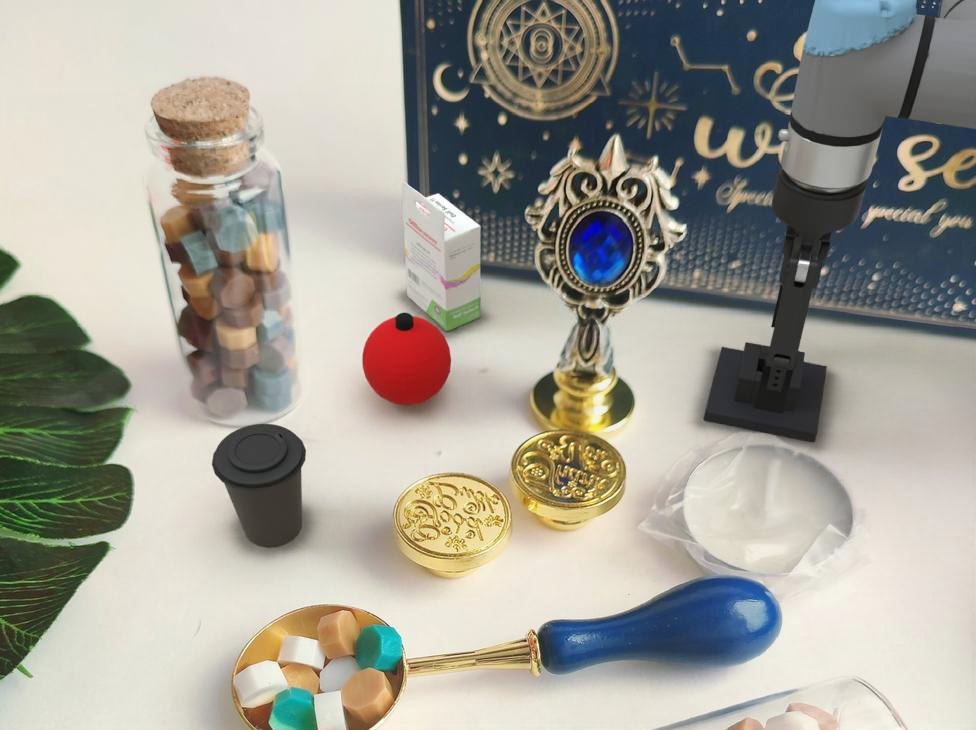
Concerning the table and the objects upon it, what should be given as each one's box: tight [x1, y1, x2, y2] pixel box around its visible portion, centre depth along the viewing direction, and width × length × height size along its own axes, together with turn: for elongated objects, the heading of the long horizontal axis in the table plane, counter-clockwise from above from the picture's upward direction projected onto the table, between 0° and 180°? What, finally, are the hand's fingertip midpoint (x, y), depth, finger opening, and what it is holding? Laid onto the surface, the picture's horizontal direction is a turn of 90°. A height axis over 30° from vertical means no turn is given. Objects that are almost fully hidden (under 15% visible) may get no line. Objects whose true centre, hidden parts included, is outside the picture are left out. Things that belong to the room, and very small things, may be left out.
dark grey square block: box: [734, 341, 806, 411], centre depth 109 cm, size 6×6×3 cm
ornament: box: [361, 312, 452, 406], centre depth 108 cm, size 9×9×10 cm
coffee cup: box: [211, 423, 307, 548], centre depth 96 cm, size 8×8×10 cm
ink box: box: [401, 181, 482, 332], centre depth 117 cm, size 9×5×15 cm, turn 34°
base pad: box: [703, 346, 828, 443], centre depth 110 cm, size 11×11×3 cm
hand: (776, 366), depth 108 cm, fingers open, 13 cm apart
